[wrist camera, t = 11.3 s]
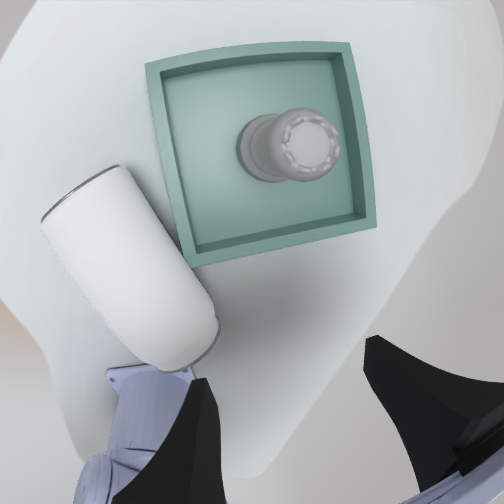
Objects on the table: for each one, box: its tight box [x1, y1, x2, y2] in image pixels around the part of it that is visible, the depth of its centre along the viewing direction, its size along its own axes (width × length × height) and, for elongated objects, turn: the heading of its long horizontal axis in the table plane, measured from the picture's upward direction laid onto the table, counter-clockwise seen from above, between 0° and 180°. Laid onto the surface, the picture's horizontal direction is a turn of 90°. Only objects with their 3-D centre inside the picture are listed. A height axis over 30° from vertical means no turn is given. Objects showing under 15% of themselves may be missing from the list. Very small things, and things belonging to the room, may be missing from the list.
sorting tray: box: [145, 41, 377, 268], centre depth 17 cm, size 13×13×2 cm
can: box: [40, 165, 221, 374], centre depth 17 cm, size 6×6×12 cm
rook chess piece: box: [236, 107, 342, 183], centre depth 14 cm, size 4×4×8 cm
